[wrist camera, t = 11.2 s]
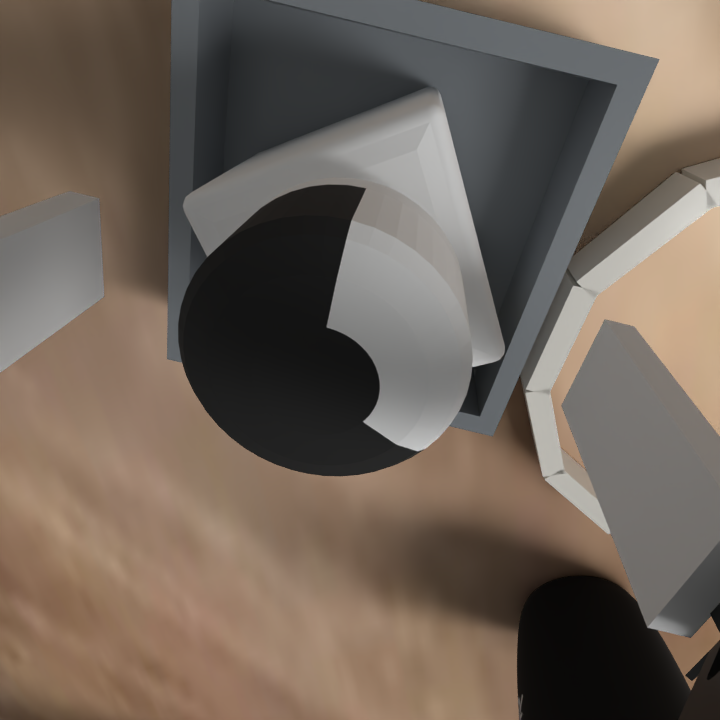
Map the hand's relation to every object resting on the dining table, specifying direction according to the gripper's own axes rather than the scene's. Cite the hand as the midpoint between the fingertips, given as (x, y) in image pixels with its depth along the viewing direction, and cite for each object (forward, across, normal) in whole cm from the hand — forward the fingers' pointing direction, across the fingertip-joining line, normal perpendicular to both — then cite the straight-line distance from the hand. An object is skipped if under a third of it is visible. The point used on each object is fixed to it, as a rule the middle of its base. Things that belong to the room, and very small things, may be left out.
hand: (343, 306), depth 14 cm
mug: (+9, -18, +22) cm, 30 cm away
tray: (+9, 0, 0) cm, 9 cm away
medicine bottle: (+8, 0, 0) cm, 8 cm away
